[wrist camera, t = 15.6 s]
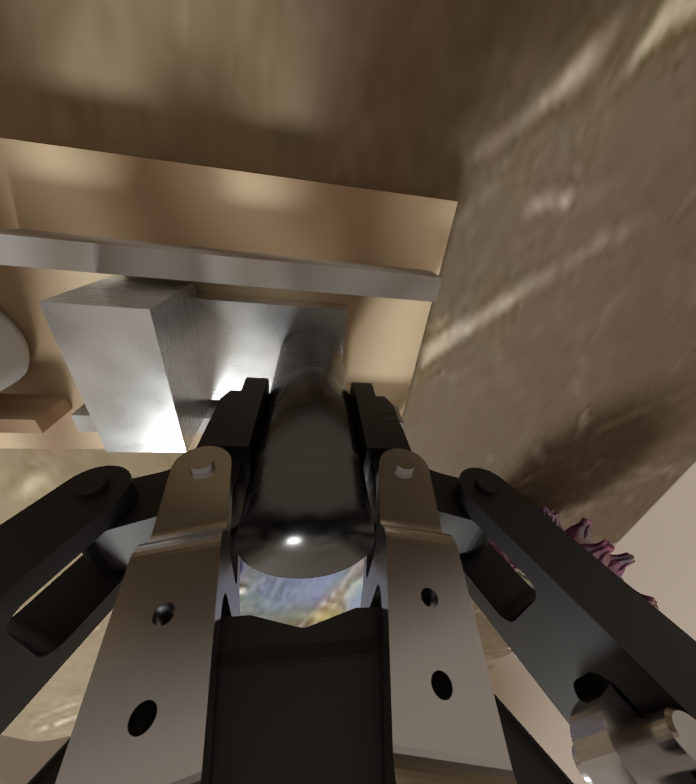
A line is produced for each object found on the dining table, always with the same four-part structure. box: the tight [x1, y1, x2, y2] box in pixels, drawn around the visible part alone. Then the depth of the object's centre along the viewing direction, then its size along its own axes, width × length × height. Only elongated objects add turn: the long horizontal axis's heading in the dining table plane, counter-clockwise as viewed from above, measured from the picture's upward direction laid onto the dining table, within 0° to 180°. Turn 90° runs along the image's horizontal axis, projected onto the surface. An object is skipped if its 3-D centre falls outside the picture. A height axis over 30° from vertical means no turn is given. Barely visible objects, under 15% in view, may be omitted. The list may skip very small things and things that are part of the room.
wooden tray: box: [0, 138, 458, 450], centre depth 14 cm, size 25×14×4 cm, turn 84°
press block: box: [38, 275, 375, 579], centre depth 10 cm, size 10×6×10 cm, turn 84°
